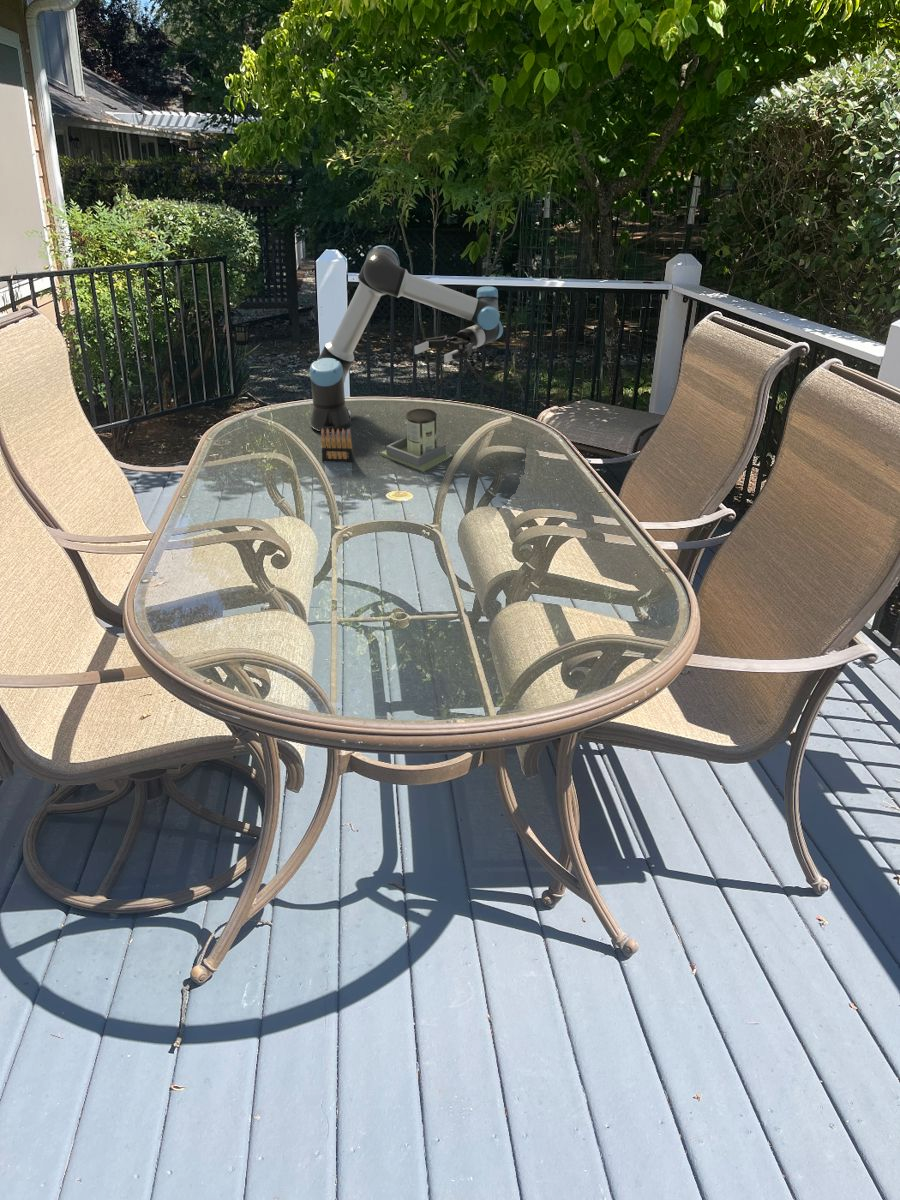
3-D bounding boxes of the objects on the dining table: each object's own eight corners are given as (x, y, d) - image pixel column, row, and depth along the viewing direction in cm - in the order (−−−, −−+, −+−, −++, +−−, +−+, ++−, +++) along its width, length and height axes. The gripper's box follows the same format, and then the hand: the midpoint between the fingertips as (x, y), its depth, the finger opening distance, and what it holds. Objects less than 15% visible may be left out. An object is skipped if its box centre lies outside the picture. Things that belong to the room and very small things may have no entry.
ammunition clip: (322, 461, 301) (319, 429, 294) (323, 459, 303) (320, 426, 296) (353, 462, 301) (350, 429, 294) (354, 460, 302) (351, 427, 295)
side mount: (380, 455, 305) (379, 444, 303) (410, 441, 314) (409, 430, 312) (423, 471, 294) (422, 460, 292) (452, 456, 304) (452, 446, 301)
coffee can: (417, 444, 310) (417, 406, 302) (442, 450, 305) (442, 412, 297) (401, 454, 303) (400, 416, 295) (426, 461, 298) (425, 422, 290)
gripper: (496, 356, 309) (457, 373, 296) (443, 341, 323) (403, 357, 310) (497, 335, 305) (457, 351, 292) (443, 321, 319) (402, 336, 305)
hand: (429, 354), depth 301 cm, fingers open, 13 cm apart
